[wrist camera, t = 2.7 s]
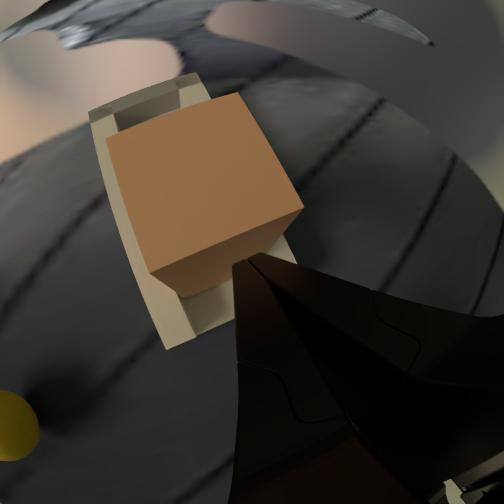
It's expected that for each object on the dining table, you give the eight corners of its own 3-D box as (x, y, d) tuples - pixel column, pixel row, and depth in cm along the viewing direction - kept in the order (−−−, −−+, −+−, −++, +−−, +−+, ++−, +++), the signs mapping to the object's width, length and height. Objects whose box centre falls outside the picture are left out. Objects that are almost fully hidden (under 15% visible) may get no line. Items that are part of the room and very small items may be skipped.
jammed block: (252, 269, 21) (304, 207, 9) (186, 299, 20) (149, 273, 8) (223, 207, 21) (237, 92, 10) (158, 234, 20) (105, 138, 9)
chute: (292, 289, 22) (307, 284, 18) (173, 344, 20) (166, 349, 16) (196, 97, 25) (195, 72, 21) (99, 134, 23) (88, 111, 19)
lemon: (56, 400, 17) (1, 426, 10) (53, 452, 16) (7, 488, 8) (9, 373, 17) (-50, 384, 9) (7, 424, 16) (-44, 446, 8)
